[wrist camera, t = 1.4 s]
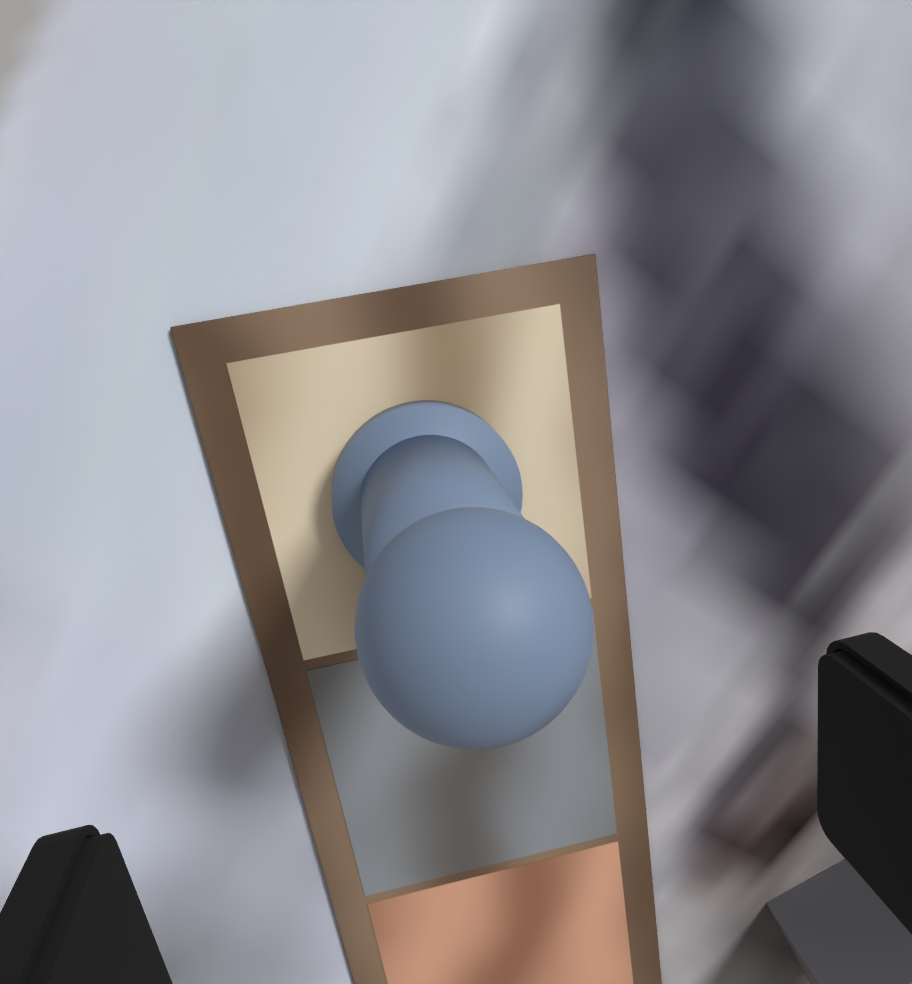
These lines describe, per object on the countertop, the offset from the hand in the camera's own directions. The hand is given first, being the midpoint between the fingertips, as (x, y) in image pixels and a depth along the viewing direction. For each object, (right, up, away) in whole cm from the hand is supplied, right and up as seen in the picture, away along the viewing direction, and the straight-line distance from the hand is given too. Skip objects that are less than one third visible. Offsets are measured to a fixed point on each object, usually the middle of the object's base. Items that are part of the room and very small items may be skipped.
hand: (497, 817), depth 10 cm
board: (0, -5, +16) cm, 17 cm away
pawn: (-2, +4, +13) cm, 14 cm away
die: (+16, -13, +22) cm, 30 cm away
